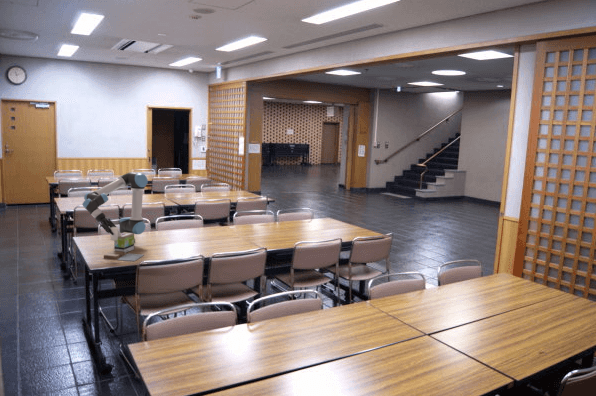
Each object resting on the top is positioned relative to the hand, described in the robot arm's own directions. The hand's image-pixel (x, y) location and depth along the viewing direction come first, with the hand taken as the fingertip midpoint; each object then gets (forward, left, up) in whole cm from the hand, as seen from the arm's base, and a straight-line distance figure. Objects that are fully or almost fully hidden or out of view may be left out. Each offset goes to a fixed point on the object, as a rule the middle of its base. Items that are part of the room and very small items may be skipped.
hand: (118, 236), depth 374 cm
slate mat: (0, +10, -17) cm, 20 cm away
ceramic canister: (0, -4, -3) cm, 5 cm away
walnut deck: (0, -4, -17) cm, 17 cm away
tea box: (-17, -4, -17) cm, 25 cm away
